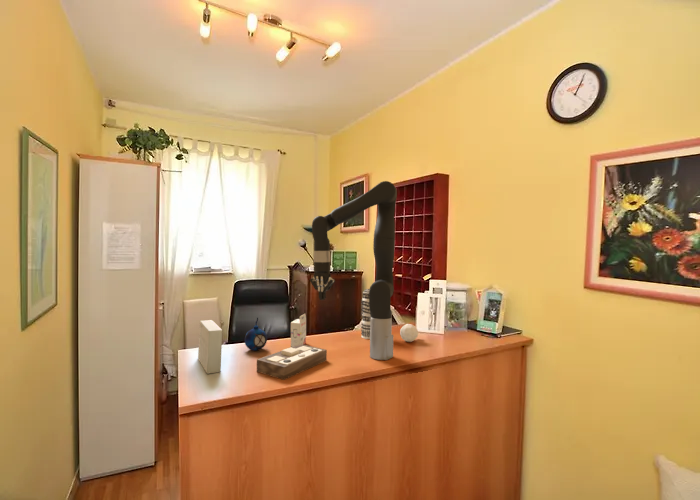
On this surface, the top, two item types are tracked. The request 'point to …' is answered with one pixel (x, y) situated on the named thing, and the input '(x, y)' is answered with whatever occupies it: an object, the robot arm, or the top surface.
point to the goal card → (299, 356)
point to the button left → (276, 359)
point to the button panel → (293, 368)
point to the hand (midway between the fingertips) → (322, 299)
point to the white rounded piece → (409, 332)
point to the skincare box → (210, 346)
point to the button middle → (290, 352)
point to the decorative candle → (365, 315)
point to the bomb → (255, 338)
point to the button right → (304, 348)
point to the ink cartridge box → (298, 331)
